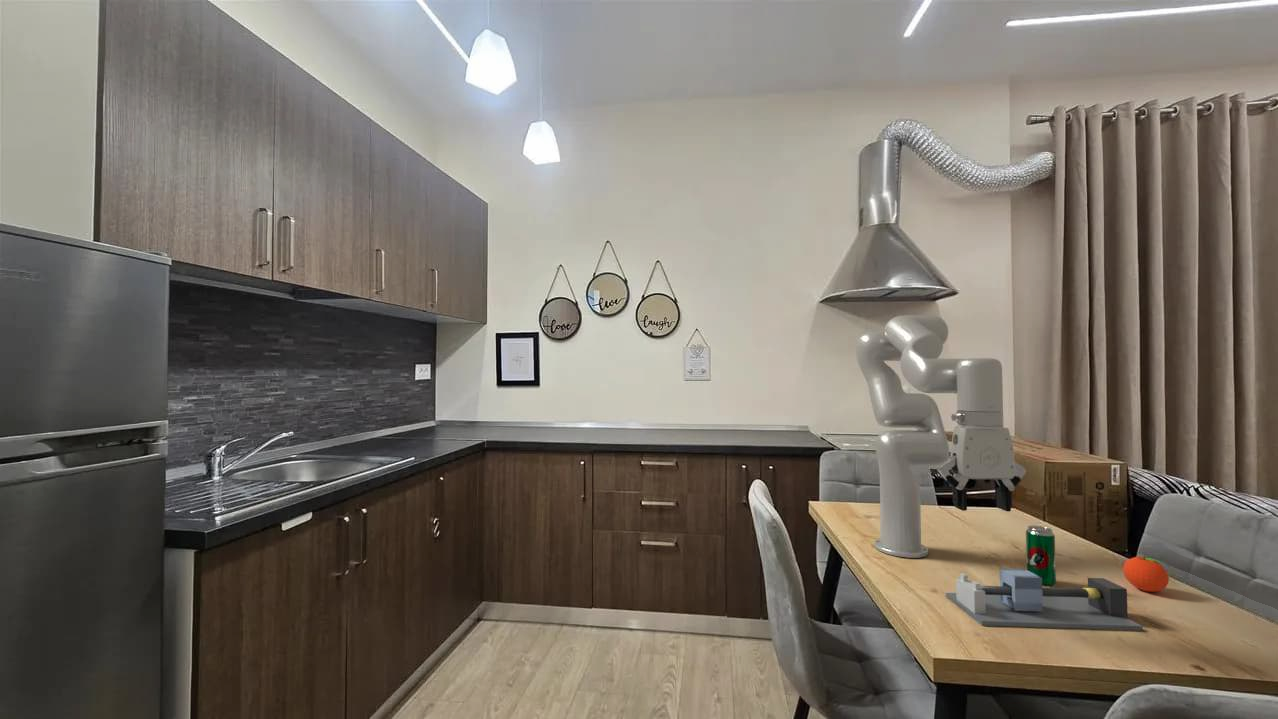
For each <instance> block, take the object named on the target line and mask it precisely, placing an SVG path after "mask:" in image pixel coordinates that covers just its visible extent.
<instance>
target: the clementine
mask: <svg viewBox="0 0 1278 719" xmlns="http://www.w3.org/2000/svg"><path fill="white" fill-rule="evenodd" d="M1160 563H1161V564H1160ZM1162 564H1164V565H1165V563H1164V562H1162V561H1161V560H1158V559H1154V558H1148V557H1147V556H1146V557H1145V556H1135V557H1132V558H1129V559H1127V560H1126V561H1125V563H1124V564H1123V568H1122V570H1123V571H1122V572H1123V576H1124V578H1125V579H1126V580H1127V582H1129V583H1130V584H1131V585H1132V586H1133V587H1134V588H1137V589H1138V590H1142V591H1143V592H1149V593H1150V592H1153V593H1154V592H1156V593H1157V592H1161V591H1162V590H1164V589H1165V588H1166V587H1167V586H1168V585H1169V580H1170V578H1169V573H1168V572H1167V570H1166V568H1164V566H1163V565H1162ZM1166 566H1167V567H1168V568H1169V569H1170V570H1171V572H1172V574H1174V571H1173V569H1172V568H1171V567H1170V566H1169V565H1168V564H1166Z"/></svg>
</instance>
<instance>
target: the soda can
mask: <svg viewBox="0 0 1278 719" xmlns="http://www.w3.org/2000/svg"><path fill="white" fill-rule="evenodd" d="M1025 548H1026V549H1025V553H1026V555H1025V556H1026V570H1028V571H1030V572H1032V573H1034V574H1035V575H1037V576H1039V577H1041V578H1042V587H1044V586H1045V587H1053V586H1054V585H1056V583H1057V572H1056V571H1057V569H1056V566H1057V565H1056V563H1057V562H1056V536H1055V533H1054V532H1053V529H1051V528H1049V527H1046V526H1041V525H1028V526H1027V529H1025Z"/></svg>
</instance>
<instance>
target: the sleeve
mask: <svg viewBox="0 0 1278 719" xmlns="http://www.w3.org/2000/svg"><path fill="white" fill-rule="evenodd" d="M999 586H1011V587H1012V595H1000V600H1001V601H1002V602H1004V603H1005V604H1006V605H1008V606H1009V607H1011V608H1012V609H1014V610H1015V611H1043V597H1042V587H1043V585H1042V578H1041V577H1039V576H1037V575H1035V574H1034V573H1032V572H1030V571H1028V570H1027V568H999Z"/></svg>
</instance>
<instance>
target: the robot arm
mask: <svg viewBox="0 0 1278 719" xmlns="http://www.w3.org/2000/svg"><path fill="white" fill-rule="evenodd" d="M948 337H949V328H948V324H947V323H946V321H945V320H944V319H943V318H942V317H940V316H937V315H932V314H929V315H928V314H927V315H926V314H924V315H923V314H920V315H919V314H917V315H916V314H915V315H914V314H910V315H907V314H904V315H898V316H895V317H892V318H891V319H890V320H889V321H887V322H886V324H885V326H884V331H883V330H881V331H879V330H877V331H871V332H866V333H863V334H862V335H860V337H858V340H857V342H856V347H855V349H856V350H855V353H856V354H855V355H856V361H857V363H858V366H859V368H860V371H861V373H862V374H863V377H864V378H865V381H866V383H867V387H868V392H869V396H870V400H871V401H870V402H871V407H872V409H873V410H872V411H873V414H874V418H875V421H876V423H877V424H878V425H879V426H881V427H885V428H894V429H893V430H886V431H882V432H881V433H880V434H879V435H877V437H876V439H875V444H874V448H875V453H876V454H875V455H876V458H877V463H878V464H877V465H878V471H879V494H880V495H879V501H880V502H879V504H880V505H879V506H880V507H879V509H880V514H879V515H880V516H879V517H880V529H879V530H880V538H877V539H875V541H874V548H876V550H878V551H880V552H882V553H884V554H887V555H890V556H894V557H900V558H906V559H907V558H910V559H913V558H914V559H918V558H924V557H926V556H928V555H929V549H928V547H927V546H925V545H924V544H922V521H921V520H922V519H921V518H922V515H921V514H922V513H921V512H922V511H921V508H922V507H921V505H922V504H921V485H920V482H919V480H918V478H917V477H916V476H915V474H914V472H912V470H911V468H915V467H919V468H922V467H924V468H925V467H928V468H930V467H931V468H934V467H936V470H937V472H938V473H939V475H940V476H941V477H942V479H943V480H944V481H945V482H946V483H947V484H948V485H949V487H951V488H952V503H953V505H954V507H955V509H958V510H960V511H962V512H964V511H965V512H966V511H967V510H968V502H967V500H968V494H967V490H966V489H964V488H965V487H966V485H967V483H968V482H969V480H995V481H996V483H997V484H998V486H999V487H996V489H995V491H996V492H995V494H996V496H995V497H996V499H995V500H996V508H998V509H999V510H1002V511H1005V512H1011V511H1012V509H1011V508H1012V507H1011V506H1012V505H1013V504H1012V492H1014V491H1015V489H1016V486H1017V485H1018V484H1019V483H1020V482H1021V479H1022V478H1023V477H1024V476H1025V475H1026V474H1027V469H1026V468H1025V467H1024V466H1022V465H1021V464H1020V463H1018V462H1017V461H1016V460H1015V453H1014V452H1015V451H1014V450H1015V449H1014V445H1013V440H1012V437H1011V436H1012V435H1011V432H1010V430H1009V428H1008V427H1004V395H1003V394H1004V393H1003V390H1004V389H1003V365H1002V362H1001V361H1000V360H998V359H996V358H993V357H992V358H989V357H985V358H983V357H981V358H980V357H978V358H977V357H974V358H940V355H941V354H942V352H943V349H944V344H945V343H946V342H947V340H948ZM886 361H887V362H888V361H889V362H899V363H900V369H901V373H902V376H903V377H904V379H905V380H906V381H907V382H908V384H910V385H911V386H912V387H913V388H914V389H915V390H917V391H919V392H921V393H917V392H916V393H907V392H906V391H905V390H904V389H903V386H902V385H903V384H902V382H901V378H900V376H899V375H898V374H897V373H896V371H895V370H894V369H893V368H892V367H891V366H890V365H888V364H887V363H886ZM924 393H925V394H924ZM928 394H954V395H955V394H957V395H956V399H957V400H956V402H957V403H956V404H957V410H956V413H955V414H954V413H952V414H951V417H950V419H951V420H952V421H953V422H956V424H957V425H955V426H954V428H953V432H952V438H951V442H950V443H951V444H949V441H948V438H947V434H946V430H945V426H944V423H943V420H942V416H941V412H940V410H939V406H938V404H937V402H936V401H935V399H933V397H932V396H930V395H928ZM895 428H896V429H895ZM897 428H900V429H899V430H898V429H897ZM901 428H904V429H903V430H902V429H901ZM905 428H907V430H906V429H905ZM908 428H909V429H911V430H908ZM912 428H913V429H916V430H912ZM949 445H951V446H950V447H949ZM950 469H951V472H952V473H953V474H954V475H953V476H952V475H951V473H950Z"/></svg>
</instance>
